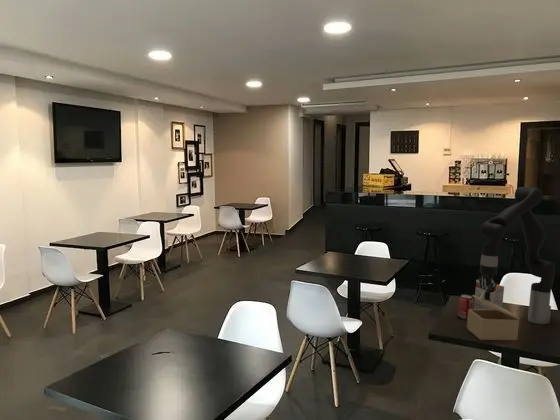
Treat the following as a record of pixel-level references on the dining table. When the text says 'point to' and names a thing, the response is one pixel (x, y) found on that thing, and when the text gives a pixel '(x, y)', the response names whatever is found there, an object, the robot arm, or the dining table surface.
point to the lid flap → (493, 305)
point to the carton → (492, 325)
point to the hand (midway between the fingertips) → (485, 298)
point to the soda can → (465, 306)
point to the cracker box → (495, 297)
